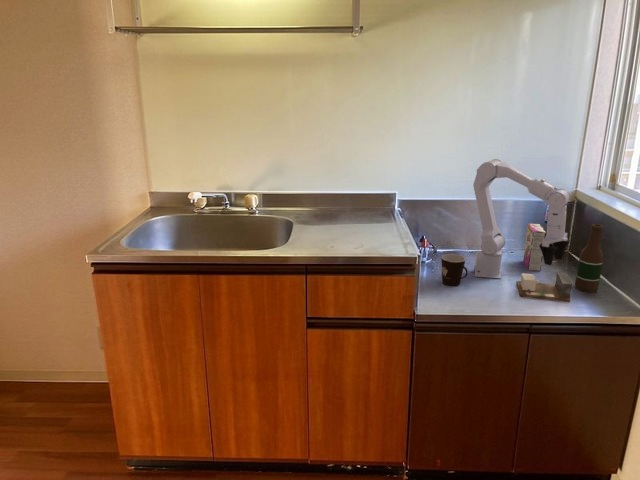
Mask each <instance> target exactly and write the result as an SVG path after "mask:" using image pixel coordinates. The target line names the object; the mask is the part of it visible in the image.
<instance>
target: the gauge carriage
mask: <svg viewBox="0 0 640 480" xmlns="http://www.w3.org/2000/svg"><path fill="white" fill-rule="evenodd" d="M520 277H521V278H520V281H521V287H522V290H527V291H528V292H529V293H530V294H531V292H530V291H535V286H536V285H541V283H542V281H541V280H537V279H536V276H535V274H534V273H533V274H532V273H523V272H522V273H521V276H520Z"/></svg>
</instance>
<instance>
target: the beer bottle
mask: <svg viewBox="0 0 640 480" xmlns="http://www.w3.org/2000/svg"><path fill="white" fill-rule="evenodd" d="M590 228H591V230H590V235H589V239H588V242H587V245H586V246H585V247H584V248H582V249H581V252H580V254H579V258H578V265H577V269H576V276H575V282H574V287H575V289H576V290H579V291H581V292H584V293H589V294H590V293H594V292H595V293H596V292H597V291H599V290H598V289H599V286H600V281H601V275H602V272H603V270H602V269H603V264H604V254H603V251H602V249H601V239H602V230H603V229H604V227H603V225H602V224H598V223H593V224H592V225H591V226H590Z"/></svg>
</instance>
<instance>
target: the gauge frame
mask: <svg viewBox="0 0 640 480" xmlns="http://www.w3.org/2000/svg"><path fill="white" fill-rule="evenodd" d="M515 284H516V288H517V290H518V296H519V298H523V299H525V298H526V299H535V300H536V299H537V300H546V301H554V302H564V303H570V302H571V296H572V295H571V293H572V289H573V283H572V282H571V280H570V277H569V276H568V274H567V273H566V272H563V273H562V272H557V273H556V277H555V283H545V282H543V283H542V282H541V285H536V286H535V291H530V292H531V294H530V293H529V292H528V291H527V290H522V287H521V280H516V282H515Z"/></svg>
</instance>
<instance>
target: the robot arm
mask: <svg viewBox="0 0 640 480" xmlns="http://www.w3.org/2000/svg"><path fill="white" fill-rule="evenodd" d="M502 178H503V179H504V178H507V179H510V180H511V181H513V182H515V183H518V184H520V185H522V187H523V186H524V187H526V188H527V190H528V193H529V194H531V195H533V196H534V197H536V198H538V199H539V200H542V201H544V202H546V203H547V206H548V211H547V212H548V213H547V222H546V223H547V224H546V235H545V239H544V240H543V241H542V244H540V245H539V247H540V249H541V251H542V253H543V256H542V258H543V261H544V264H545V265H548V266H552V264H553V262H554V261H553V260H554V259H556V260H559V261H561V260H562V259H563V256H564V253H565V251H566V249H567V247H568V245H569V244H570V241H571V240H570V239H568V232H566V225H567V224H566V222H567V221H566V220H567V208H568V207H567V204H568V202H569V200H570V195H569V193H568V192H567V191H566V190H565V189H564V188H559V187H558V186H553V185H551V184H550V183H548V182H546V179H544V178H535V179H533V178H531V177H530V176H528V175H526V174H524V173H523V172H521V171H520V170H518V169H516V168H515V167H513V166H511V165H510V164H509V163H507V162H506V161H505V162H504V161H502V160H501V159H498V158H495V159H491V160H489V161H485V162H483V163H481V165H479V167H478V168H477V169H476V175H475V178H474V181H473V191H474V195H475V196H474V197H475V201H476V204H477V209H478V213H479V219H480V223H481V228H482V233H481V236H480V237H481V238H480V240H481V243H480V250H481V251H476V254H475V261H474V268H473V270H474V277H478V278H489V279H496V280H497V279H502V274H501V265H502V258H503V257H502V256H503V251H502V249H503V248H504V247H505V245H506V239H505V237H504V235H503V234H502V232H501V229H500V228H499V227H498V224H497V220H496V219H497V218H496V214H495V211H494V205H493V201H492V196H491V195H492V194H491V191H490V186H491V184H492V183H493V181H494V180H495V179H502Z"/></svg>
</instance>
